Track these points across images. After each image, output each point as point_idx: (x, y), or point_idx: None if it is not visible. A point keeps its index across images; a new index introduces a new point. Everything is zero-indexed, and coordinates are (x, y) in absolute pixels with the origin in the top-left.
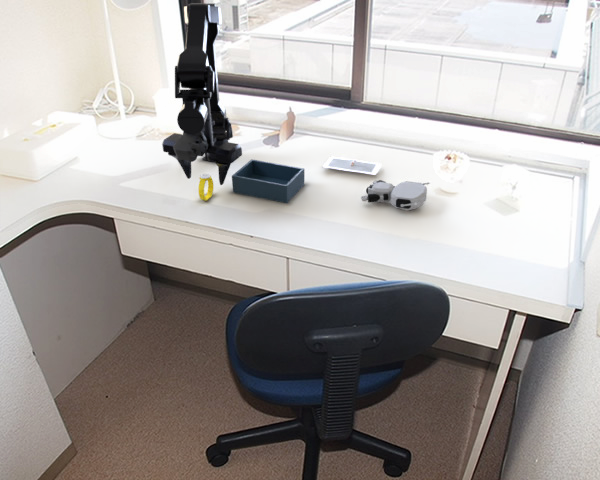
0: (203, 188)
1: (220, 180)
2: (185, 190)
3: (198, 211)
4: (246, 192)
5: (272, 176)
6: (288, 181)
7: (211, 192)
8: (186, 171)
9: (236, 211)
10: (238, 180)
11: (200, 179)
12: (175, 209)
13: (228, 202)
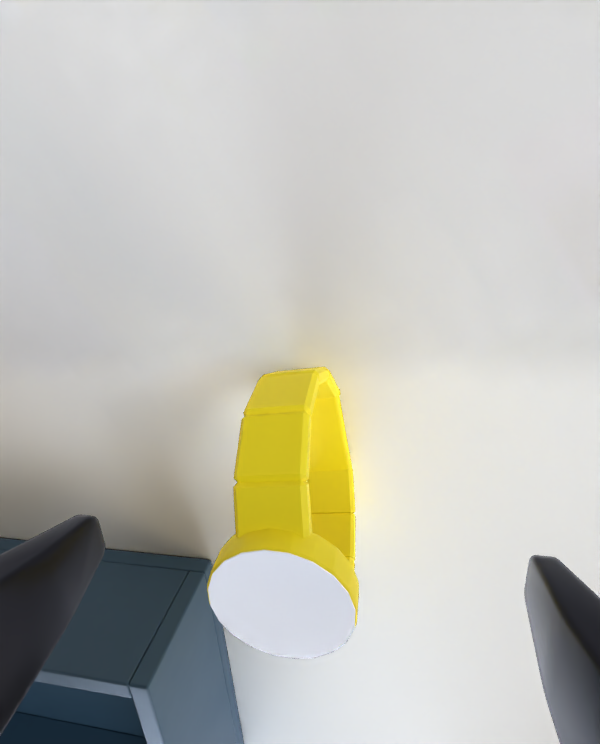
0: (244, 421)
1: (26, 548)
2: (589, 498)
3: (253, 195)
4: (103, 564)
5: (107, 740)
6: (24, 709)
7: (314, 502)
8: (591, 649)
9: (11, 334)
10: (105, 646)
11: (313, 538)
12: (500, 112)
13: (146, 431)
